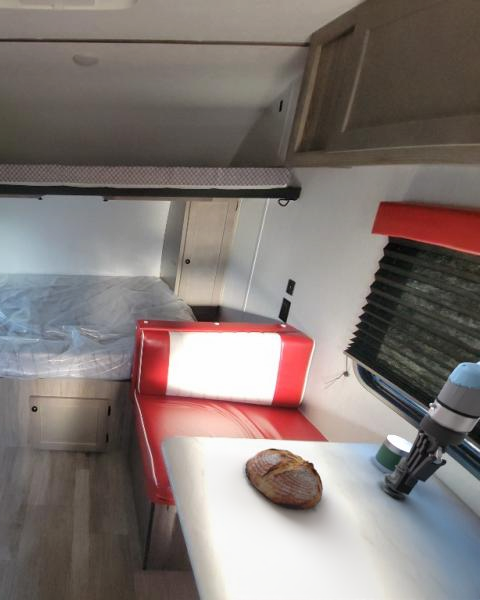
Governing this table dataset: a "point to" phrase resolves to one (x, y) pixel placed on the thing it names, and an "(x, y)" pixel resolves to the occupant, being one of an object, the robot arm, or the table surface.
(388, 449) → the tin can
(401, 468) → the grey stone statuette
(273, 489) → the bread
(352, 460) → the table surface
